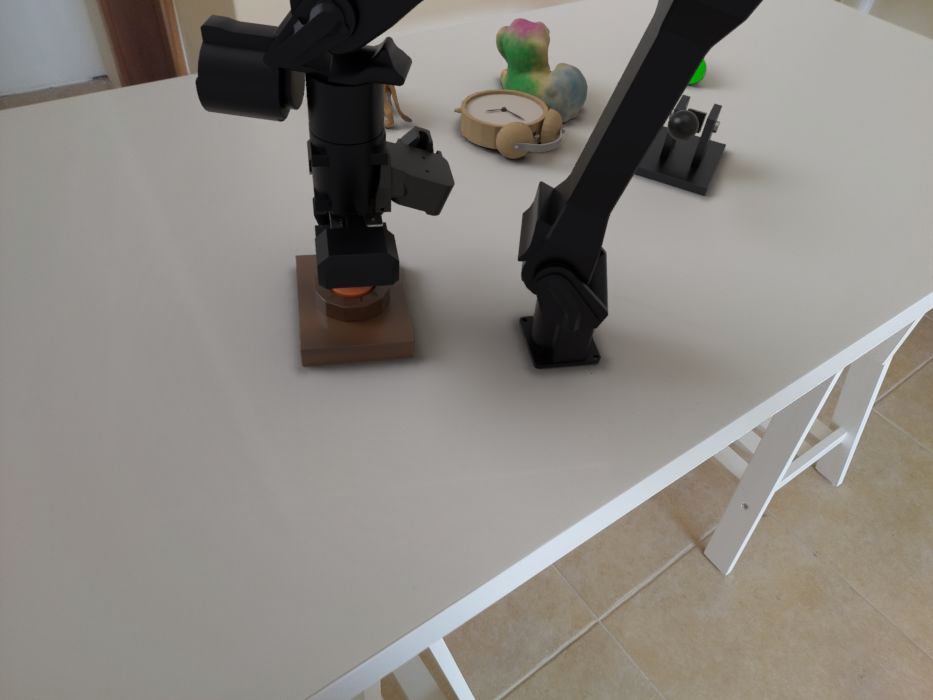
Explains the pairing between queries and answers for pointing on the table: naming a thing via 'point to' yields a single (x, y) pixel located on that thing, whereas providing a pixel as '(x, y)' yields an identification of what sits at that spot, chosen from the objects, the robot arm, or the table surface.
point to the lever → (686, 124)
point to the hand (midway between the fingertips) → (352, 280)
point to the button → (352, 292)
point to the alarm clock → (510, 122)
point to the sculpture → (539, 68)
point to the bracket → (684, 156)
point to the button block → (350, 321)
